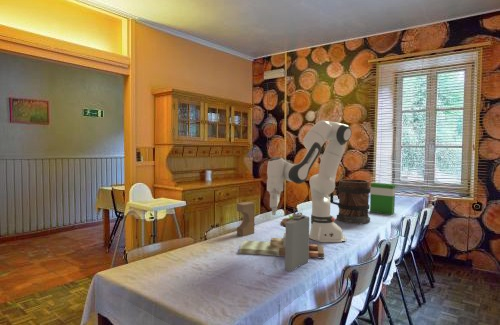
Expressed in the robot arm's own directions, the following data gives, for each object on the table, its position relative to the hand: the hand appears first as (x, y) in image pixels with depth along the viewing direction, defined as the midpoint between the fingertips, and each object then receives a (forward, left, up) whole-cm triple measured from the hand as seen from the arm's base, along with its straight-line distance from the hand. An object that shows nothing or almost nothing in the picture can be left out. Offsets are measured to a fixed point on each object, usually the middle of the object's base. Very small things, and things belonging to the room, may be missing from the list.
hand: (274, 212), depth 177 cm
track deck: (-4, 0, -21) cm, 21 cm away
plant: (-9, -61, -22) cm, 65 cm away
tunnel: (-9, 0, -18) cm, 21 cm away
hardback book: (-81, -113, -21) cm, 141 cm away
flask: (-12, +19, -21) cm, 31 cm away
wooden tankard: (-50, -81, -21) cm, 98 cm away
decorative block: (+21, -29, -21) cm, 42 cm away
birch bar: (-6, 0, -18) cm, 19 cm away
